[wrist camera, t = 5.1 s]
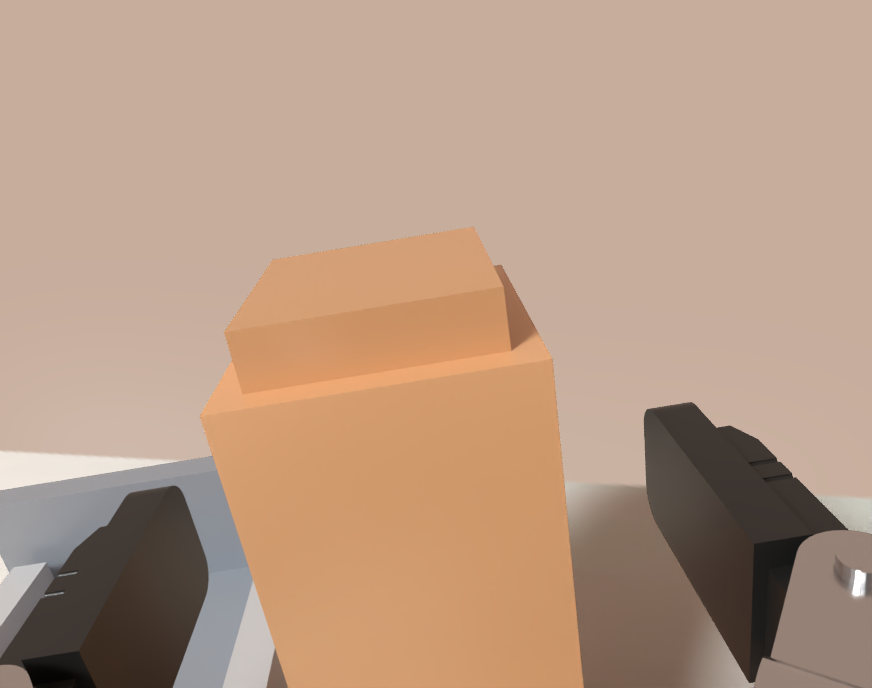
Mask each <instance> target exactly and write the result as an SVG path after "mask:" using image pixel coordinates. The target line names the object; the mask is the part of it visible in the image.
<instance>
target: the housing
mask: <svg viewBox="0 0 872 688" xmlns="http://www.w3.org/2000/svg"><path fill="white" fill-rule="evenodd" d="M167 486H177V487H179V488H180V490H181V491H182V493H183V494H184V497H185V499H186V502H187V505H188V508H189V511H190V513H191V516H192V519H193V522H194V525H195V528H196V530H197V533H198V536H199V539H200V542H201V544H202V547H203V550H204V553H205V556H206V559H207V564H208V573H209V581H208V590H207V594H206V598H205V600H204V603H203V606H202V609H201V611H200V614H199V617H198V620H197V622H196V625H195V628H194V631H193V633H192V636H191V639H190V642H189V644H188V647H187V650H186V653H185V655H184V658H183V661H182V664H181V666H180V669H179V672H178V675H177V677H176V680H175V683H174V686H173V688H288V686H287V683H286V680H285V676H284V673H283V670H282V667H281V664H280V661H279V658H278V655H277V652H276V649H275V646H274V643H273V640H272V637H271V634H270V630H269V627H268V624H267V621H266V618H265V615H264V612H263V609H262V606H261V603H260V600H259V597H258V594H257V591H256V587H255V584H254V581H253V578H252V575H251V572H250V569H249V566H248V563H247V560H246V557H245V554H244V551H243V548H242V545H241V541H240V538H239V535H238V532H237V529H236V526H235V523H234V520H233V517H232V514H231V511H230V508H229V505H228V502H227V498H226V495H225V492H224V489H223V486H222V483H221V480H220V477H219V474H218V471H217V468H216V465H215V462H214V459H213V456H210V457H205V458H199V459H192V460H186V461H179V462H173V463H167V464H161V465H155V466H149V467H142V468H136V469H130V470H124V471H118V472H112V473H105V474H99V475H93V476H87V477H81V478H74V479H68V480H62V481H56V482H50V483H44V484H37V485H31V486H25V487H19V488H13V489H7V490H0V555H1V557H2V559H3V561H4V563H5V565H6V567H7V569H8V571H9V574H8V575H7V576H6V578H5V579H4V580H3V582H2V583H1V584H0V658H1V656H2V655H3V653H4V652H5V650H6V649H7V647H8V646H9V644H10V643H11V642H12V640H13V639H14V637H15V636H16V634H17V633H18V631H19V630H20V628H21V627H22V625H23V624H24V622H25V621H26V619H27V618H28V616H29V615H30V614H31V612H32V611H33V609H34V608H35V606H36V605H37V603H38V602H39V600H40V599H41V598H44V597H45V594H44V593H45V591H46V590H47V588H48V587H49V586H50V584H51V583H52V581H53V580H54V578H58V572H59V571H60V569H61V568H62V566H63V565H64V563H65V562H66V560H67V559H68V557H69V556H70V555H71V553H72V552H73V550H74V549H75V548H76V547H77V546H79V545H80V544H81V543H82V542H83V541H84V540H86V539H87V538H88V537H89V536H90V535H91V534H93V533H94V532H95V531H96V530H97V529H98V528H99V527H103V526H107V525H108V523H109V522H110V520H111V519H112V517H113V516H114V514H115V512H116V511H117V509H118V508H119V506H120V505H121V503H122V502H123V500H124V498H125V497H126V496H127V495H128V494H129V493H131V492H136V491H142V490H148V489H155V488H161V487H167Z"/></svg>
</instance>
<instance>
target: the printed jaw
mask: <svg viewBox="0 0 872 688" xmlns="http://www.w3.org/2000/svg"><path fill="white" fill-rule="evenodd" d="M224 333H225V337H226V340H227V344H228V347H229V350H230V354H231V357H232V362H231V363H230V365H229V367H228V368H227V370H226V372H225V374H224V375H223V377H222V379H221V380H220V382H219V384H218V386H217V387H216V389H215V391H214V393H213V394H212V396H211V398H210V399H209V401H208V403H207V404H206V406H205V408H204V410H203V411H202V413H201V415H200V419H201V421H202V425H203V428H204V431H205V434H206V437H207V440H208V443H209V446H210V449H211V452H212V456H213V459H214V462H215V465H216V468H217V471H218V474H219V477H220V480H221V483H222V486H223V489H224V492H225V495H226V498H227V502H228V505H229V508H230V511H231V514H232V517H233V520H234V523H235V526H236V529H237V532H238V535H239V538H240V541H241V545H242V548H243V551H244V554H245V557H246V560H247V563H248V566H249V569H250V572H251V575H252V578H253V581H254V584H255V587H256V591H257V594H258V597H259V600H260V603H261V606H262V609H263V612H264V615H265V618H266V621H267V624H268V627H269V630H270V634H271V637H272V640H273V643H274V646H275V649H276V652H277V655H278V658H279V661H280V664H281V667H282V670H283V673H284V676H285V680H286V683H287V686H288V688H584V685H583V675H582V664H581V654H580V643H579V633H578V622H577V612H576V601H575V591H574V580H573V570H572V559H571V549H570V538H569V528H568V517H567V507H566V496H565V486H564V475H563V465H562V455H561V444H560V434H559V424H558V412H557V402H556V391H555V381H554V370H553V360H552V357H551V355H550V354H549V352H548V350H547V348H546V346H545V344H544V343H543V341H542V339H541V337H540V335H539V333H538V332H537V330H536V328H535V326H534V324H533V322H532V321H531V319H530V317H529V315H528V313H527V311H526V310H525V308H524V306H523V304H522V302H521V300H520V299H519V297H518V295H517V293H516V291H515V289H514V288H513V286H512V284H511V282H510V280H509V278H508V277H507V275H506V273H505V271H504V269H503V267H502V266H501V265H497V266H493V265H492V262H491V260H490V258H489V256H488V254H487V252H486V250H485V248H484V246H483V244H482V242H481V241H480V238H479V236H478V234H477V232H476V231H475V228H474V227H470V228H464V229H457V230H451V231H446V232H439V233H433V234H427V235H421V236H415V237H408V238H403V239H396V240H390V241H384V242H378V243H372V244H366V245H360V246H354V247H347V248H341V249H335V250H329V251H323V252H317V253H311V254H305V255H299V256H293V257H286V258H280V259H274V260H272V262H271V264H270V265H269V267H268V268H267V269H266V271H265V272H264V274H263V275H262V277H261V278H260V280H259V281H258V283H257V284H256V286H255V287H254V289H253V290H252V292H251V293H250V295H249V296H248V297H247V299H246V301H245V302H244V303H243V305H242V306H241V308H240V309H239V311H238V312H237V314H236V315H235V317H234V318H233V320H232V321H231V323H230V324H229V326H228V327H227V329H226V330H225V331H224Z"/></svg>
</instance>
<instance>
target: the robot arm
mask: <svg viewBox="0 0 872 688" xmlns="http://www.w3.org/2000/svg"><path fill="white" fill-rule="evenodd" d="M644 437H645V460H646V486H647V494H648V500H649V504H650V508H651V511H652V514H653V517H654V519H655V521H656V523H657V525H658V527H659V529H660V530H661V532H662V534H663V536H664V537H665V539H666V541H667V542H668V544H669V546H670V548H671V549H672V551H673V553H674V555H675V556H676V558H677V560H678V561H679V563H680V565H681V567H682V568H683V570H684V572H685V573H686V575H687V577H688V579H689V580H690V582H691V584H692V585H693V587H694V589H695V591H696V592H697V594H698V596H699V597H700V599H701V601H702V603H703V604H704V606H705V608H706V610H707V611H708V613H709V615H710V616H711V618H712V620H713V622H714V623H715V625H716V627H717V628H718V630H719V632H720V634H721V635H722V637H723V639H724V640H725V642H726V644H727V646H728V647H729V649H730V651H731V653H732V654H733V656H734V658H735V659H736V661H737V663H738V665H739V666H740V668H741V670H742V671H743V673H744V675H745V677H746V678H747V680H748V682H749V683H753V682H755V684H754V688H872V534H869V533H864V532H858V531H849V530H848V529H847V528H846V527H845V526H844V525H843V524H842V523H841V522H840V521H839V520H838V519H837V518H836V517H835V516H834V515H833V514H832V513H831V512H830V511H829V510H828V509H827V508H826V507H825V506H824V505H823V504H822V503H821V502H820V501H819V500H818V499H817V498H816V497H815V496H814V495H813V494H812V493H811V492H810V491H809V490H808V489H807V488H806V487H805V486H804V485H803V484H802V483H801V482H800V481H799V480H798V479H797V478H793V476H792V473H791V472H790V471H789V470H788V469H787V468H786V467H785V466H784V465H783V464H782V463H781V462H777V458H776V457H775V456H774V455H773V454H772V453H771V452H770V451H769V450H768V449H767V448H766V447H765V446H764V445H763V444H762V443H761V442H760V441H759V440H758V439H756V438H754V437H752V436H750V435H748V434H746V433H744V432H742V431H740V430H738V429H736V428H734V427H732V426H725V427H719V428H716V427H715V426H714V425H713V424H712V423H711V421H710V420H709V419H708V418H707V417H706V416H705V415H704V414H703V413H702V412H701V410H700V409H699V408H698V407H697V406H696V405H695V404H693V403H692V402H690V403H682V404H677V405H670V406H664V407H658V408H652V409H647V410H646V412H645V416H644ZM208 581H209V573H208V564H207V559H206V556H205V553H204V550H203V547H202V544H201V542H200V539H199V536H198V533H197V530H196V528H195V525H194V522H193V519H192V516H191V513H190V511H189V508H188V505H187V502H186V499H185V497H184V494H183V493H182V491H181V490H180V488H179V487H177V486H167V487H161V488H155V489H148V490H142V491H136V492H131V493H129V494H128V495H127V496H126V497H125V498H124V500H123V502H122V503H121V505H120V506H119V508H118V509H117V511H116V512H115V514H114V516H113V517H112V519H111V520H110V522H109V523H108V525H107V526H103V527H99V528H98V529H97V530H96V531H95V532H94V533H93V534H91V535H90V536H89V537H88V538H87V539H86V540H84V541H83V542H82V543H81V544H80V545H79V546H77V547H76V548H75V549H74V550H73V552H72V553H71V555H70V556H69V557H68V559H67V560H66V562H65V563H64V565H63V566H62V568H61V569H60V571H59V572H58V578H54V580H53V581H52V583H51V584H50V586H49V587H48V588H47V590H46V591H45V593H44V594H45V597H44V598H41V599H40V600H39V602H38V603H37V605H36V606H35V608H34V609H33V611H32V612H31V614H30V615H29V616H28V618H27V619H26V621H25V622H24V624H23V625H22V627H21V628H20V630H19V631H18V633H17V634H16V636H15V637H14V639H13V640H12V642H11V643H10V644H9V646H8V647H7V649H6V650H5V652H4V653H3V655H2V656H1V658H0V688H173V686H174V683H175V680H176V677H177V675H178V672H179V669H180V666H181V664H182V661H183V658H184V655H185V653H186V650H187V647H188V644H189V642H190V639H191V636H192V633H193V631H194V628H195V625H196V622H197V620H198V617H199V614H200V611H201V609H202V606H203V603H204V600H205V598H206V594H207V590H208Z"/></svg>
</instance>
